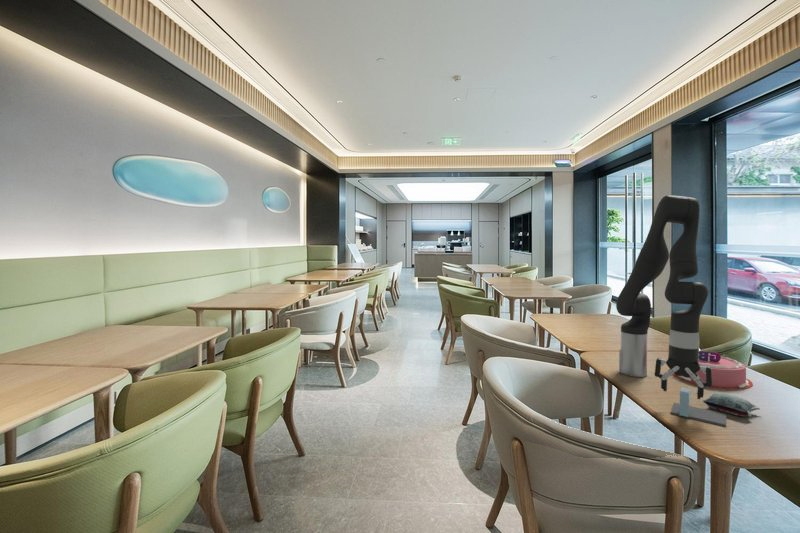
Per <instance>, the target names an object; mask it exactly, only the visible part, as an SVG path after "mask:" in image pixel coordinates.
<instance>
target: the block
mask: <svg viewBox="0 0 800 533" xmlns="http://www.w3.org/2000/svg"><path fill="white" fill-rule="evenodd" d="M679 404H680V410H679V415H681V416H680V417H683V416H685V417H684V418H687V417H689V413H690V406H691V388H688V387H683V386H681V389H680V392H679Z"/></svg>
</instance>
